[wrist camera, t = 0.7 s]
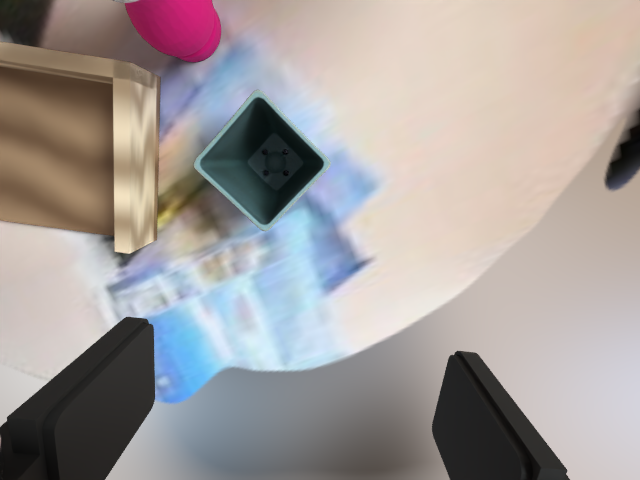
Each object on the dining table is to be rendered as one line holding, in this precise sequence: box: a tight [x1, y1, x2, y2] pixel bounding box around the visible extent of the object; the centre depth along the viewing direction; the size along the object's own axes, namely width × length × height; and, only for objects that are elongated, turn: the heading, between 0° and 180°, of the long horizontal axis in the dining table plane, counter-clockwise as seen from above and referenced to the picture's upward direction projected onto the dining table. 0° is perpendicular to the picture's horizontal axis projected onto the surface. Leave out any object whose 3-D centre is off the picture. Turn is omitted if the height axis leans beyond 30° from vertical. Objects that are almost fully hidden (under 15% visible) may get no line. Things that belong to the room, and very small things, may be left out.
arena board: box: [0, 67, 160, 241], centre depth 36 cm, size 18×18×1 cm
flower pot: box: [193, 90, 330, 231], centre depth 33 cm, size 9×9×9 cm
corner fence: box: [0, 42, 157, 254], centre depth 34 cm, size 18×18×5 cm
